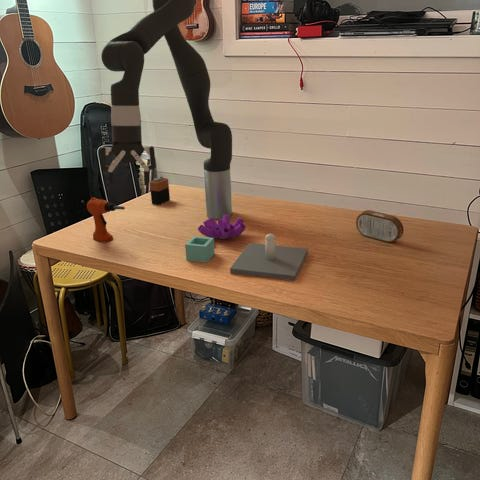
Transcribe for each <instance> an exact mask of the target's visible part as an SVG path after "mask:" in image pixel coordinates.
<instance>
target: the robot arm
mask: <svg viewBox="0 0 480 480" xmlns="http://www.w3.org/2000/svg"><path fill="white" fill-rule="evenodd" d="M151 4H152V9H153V12H150V13H149V14H147V15H145V16H143V17H142V18H140V19H139V20H137V21H136V22H135V24H133V26H131V27H130V28H129V29H128V30H127V31H125V32H123V33H121V34H119V35H117V36H116V37H114V38H112V39H110V40H108V41H107V43H105V44H104V46H103V47H102V51H101V62H102V64H103V66H104V67H105V68H106V69H107V70H109V71H111V72H118V73H119V72H120V73H121V72H124V73H123V76H122V79H120V80H117V81H114V82H112V83H111V85H110V105H111V110H110V119H111V120H110V122H111V137H112V144H111V147H108V146H101V147H100V169H101V170H102V171H105V172H107V173H108V183H109V185H111V187H115V172H114V170H115V169H116V167H118V165H119V163H121V164H127V163H128V164H135V163H138V164H139V166H141V168H143V173H142V175H143V185H144V186H147V185H148V184H150V171H151V170H155V169H156V167H157V165H156V155H155V154H156V153H155V147H154V146H153V145H150V146H143V142H142V141H143V140H142V118H141V116H142V115H141V110H140V109H141V108H140V94H139V90H140V84H141V80H142V74H143V70H144V66H145V65H144V64H145V55H146V54H147V53H149V52H150V50H151V49H152V48H153V47H154V46H155V45H156V43H158V42H160V40H161V39H162V38H163V37H164V39H165V41H166V44H167V46H168V48H169V51H170V54H171V57H172V59H173V62H174V65H175V69H176V72H177V75H178V78H179V81H180V83H181V87H182V89H183V92H184V95H185V98H186V100H187V104H188V108H189V110H190V114H191V117H192V118H191V119H192V121H193V126H194V130H195V134H196V138H197V140H198V143H199V144H200V145H201V146H202V147H203V148H205V149H210V158H208V159H205V160H204V161H203V175H204V177H203V178H204V190H205V191H204V193H205V207H206V217H207V218H208V219H210V218H214V219H215V220H219V219H223V216H224V215H229V216H230V217H232V215H233V205H232V204H233V202H232V201H233V200H232V198H233V197H232V180H231V179H232V178H231V163H232V158H233V133H232V130H231V128H230V126H229V125H228V124H226V123H225V122H224V123H223V122H219V121H214V119H213V116H212V113H211V109H210V106H209V105H210V104H209V100H210V93H211V79H210V77H211V76H210V74H209V71H208V68H207V65H206V62H205V59H204V58H203V56H202V55H201V54H200V53H199V52H198V51H197V50H196V48H194V47H193V46H192V45H191V44H190V43H189V42H188V40H187V39H186V37H184V35H183V33H182V32H181V30H180V28H179V24H180V23H182V22H184V21H186V20H188V19H189V18H190V17H192V15H193V13H194V11H195V0H151ZM110 152H111V153H112V154H113V155H114V159H113V160H112V162H111V163H110V165H109V166H108V165H107V164H106V158H107V157H106V156H109V154H110ZM144 152H145V153H146V154H147V155H148V156H149V164H148V165H147V164H146V163H145V161H144V160H143V159H142V158H141V156H142V155H143V153H144Z"/></svg>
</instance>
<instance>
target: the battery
mask: <svg viewBox="0 0 480 480" xmlns="http://www.w3.org/2000/svg"><path fill="white" fill-rule="evenodd" d="M149 188H150V197H151V200H150V201H151V204H153V205H159V206H161V205H163V204H165V203H168V202H169V201H170V200H171V196H170V186H169V179H168V178H166V177H164V176H163V175H162V176H159V177H156V178H155V177H154V178H153V180H151V181H150V180H149Z"/></svg>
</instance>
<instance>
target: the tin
mask: <svg viewBox="0 0 480 480" xmlns="http://www.w3.org/2000/svg"><path fill="white" fill-rule="evenodd" d="M355 219H356V220H355V224H356V229H357V230H358V232H359V233H360V234H361V235H362V236H364V237H366V238H368V239H369V238H370V239H374V240H378V241H381V242H384V243H387V244H389V243H391V244H392V243H394V242H396V241H397V240H399V239H401V238H402V237H403V235H404V225H403V223H402V221H401V219H399V218H398V217H396V216H395V215H392V214H387V213H383V212H379V211H375V210H371V209H369V210H364V211H363V212H361V213H360V214H358V216H357V217H356V218H355Z"/></svg>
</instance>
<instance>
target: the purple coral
mask: <svg viewBox="0 0 480 480" xmlns="http://www.w3.org/2000/svg"><path fill="white" fill-rule="evenodd" d="M244 222H245V220H243V219H242V218H241V217H236V219H235V221H233V223H232V224H231V216H229V215H224V216H223V219H217V221H216V219H214V218H208V219H207V220H204V221H203V222H202V224H200V225H199V226H197V227H198V228H197V231H198V232H199V233H200V234H201V235H203V236H205V237H208V238H214V239H218V240H220V239H222V240H224V239H225V240H226V239H230V238H231V239H232V238H235V237H238V236H240V235H241V234H243V233H244V231H245V230H246V228H247V227H246V225H245V224H244Z"/></svg>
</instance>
